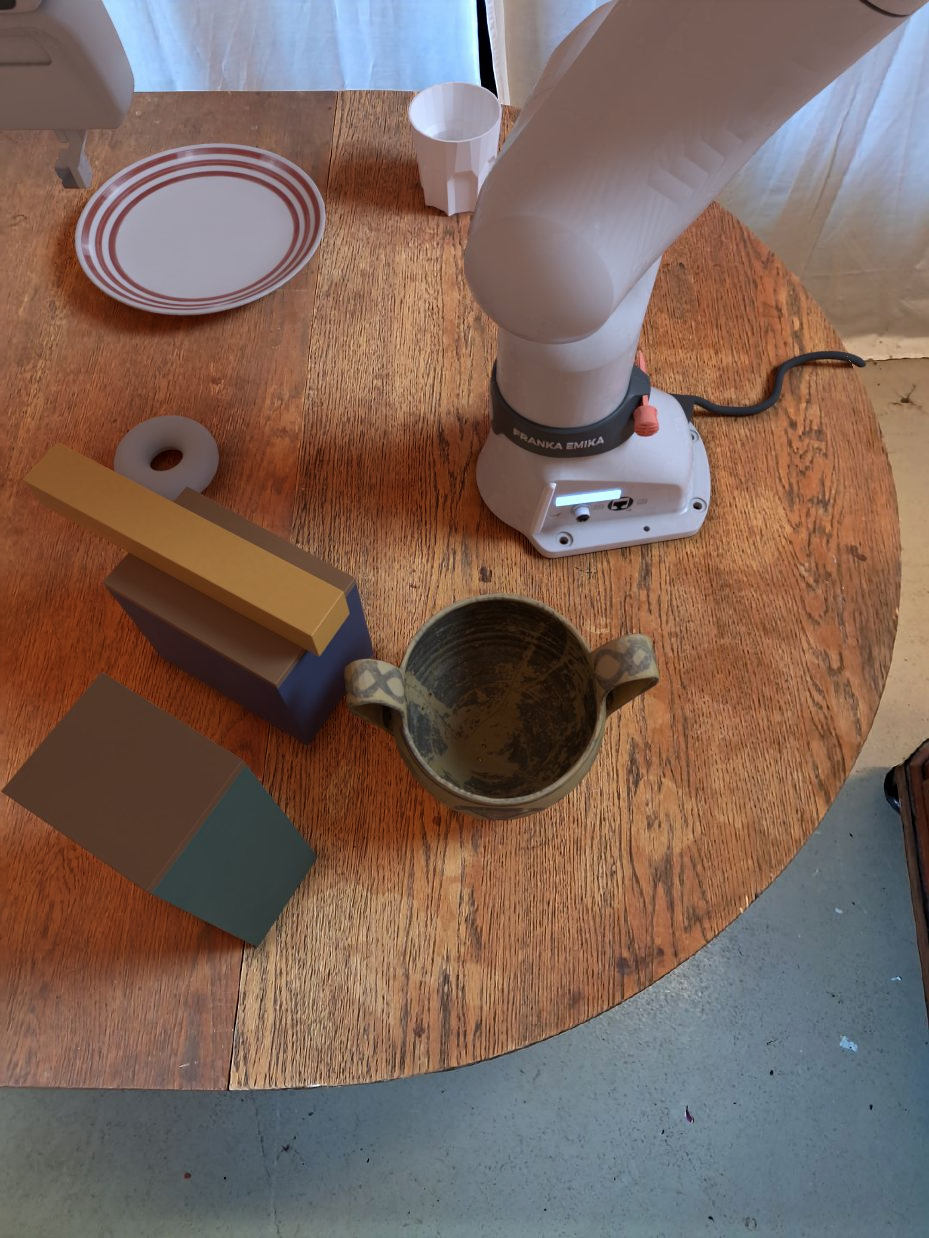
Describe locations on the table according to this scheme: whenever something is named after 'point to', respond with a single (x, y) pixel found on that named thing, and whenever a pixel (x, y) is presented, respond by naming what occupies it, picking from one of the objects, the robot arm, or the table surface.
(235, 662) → the brown-topped navy block
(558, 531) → the robot arm
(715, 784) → the table surface
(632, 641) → the ceramic bowl
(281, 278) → the dinner plate
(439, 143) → the cup
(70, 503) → the yellow ochre bar
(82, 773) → the brown-topped teal block
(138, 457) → the donut
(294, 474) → the table surface
